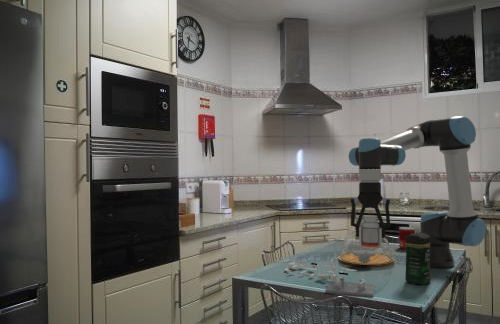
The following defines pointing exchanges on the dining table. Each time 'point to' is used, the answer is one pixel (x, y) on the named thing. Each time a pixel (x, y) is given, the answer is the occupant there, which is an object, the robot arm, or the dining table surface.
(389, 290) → the dining table surface
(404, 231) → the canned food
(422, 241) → the coffee jar
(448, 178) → the robot arm
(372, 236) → the pill bottle
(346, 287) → the grey knobbed plate
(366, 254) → the showerhead
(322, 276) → the miniature set
